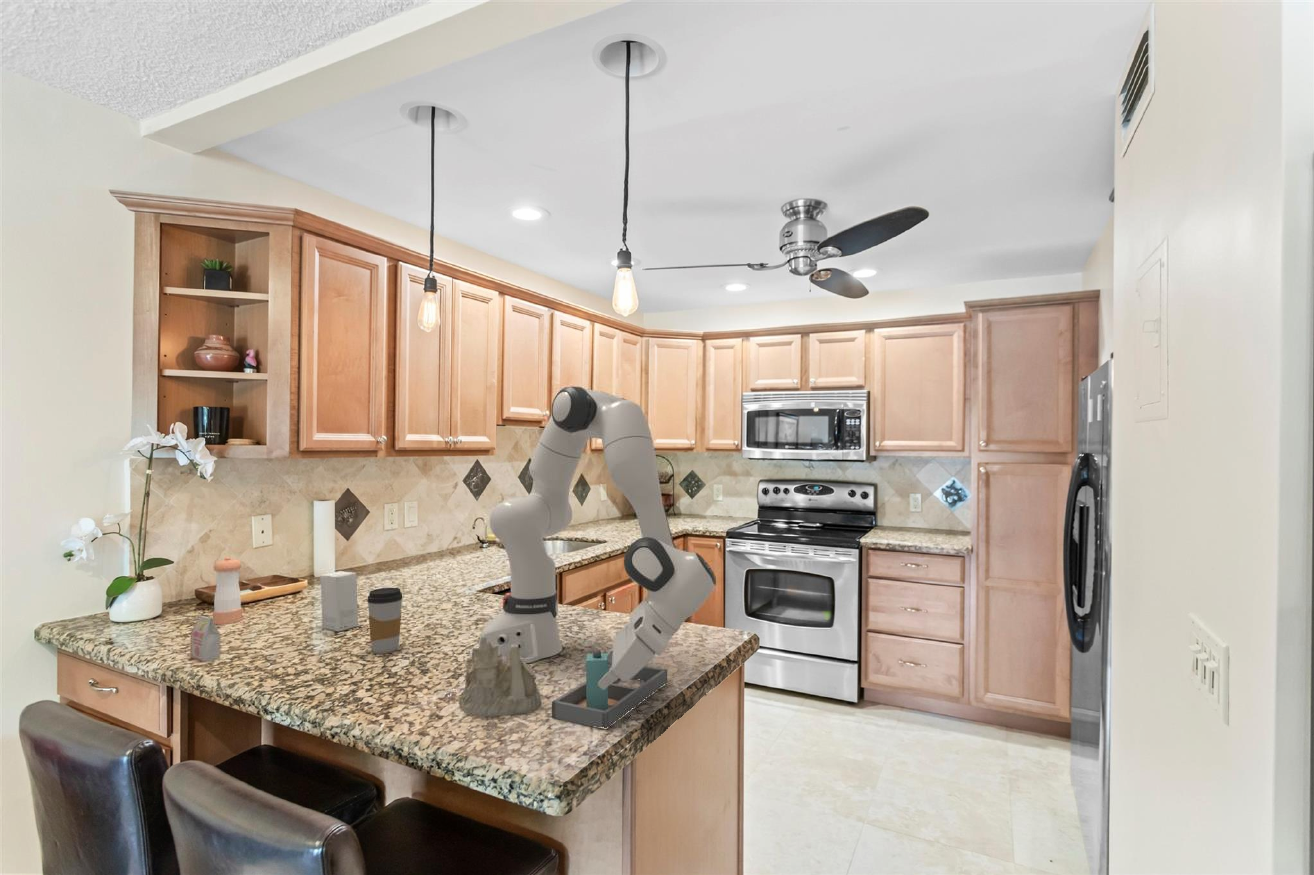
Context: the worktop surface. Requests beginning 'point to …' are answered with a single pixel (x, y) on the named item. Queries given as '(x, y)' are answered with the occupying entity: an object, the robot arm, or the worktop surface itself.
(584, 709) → the slot frame
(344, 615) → the skincare box
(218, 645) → the gable top carton
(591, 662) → the teal plug
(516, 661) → the castle ruin ornament
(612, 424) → the robot arm
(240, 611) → the salt shaker
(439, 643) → the worktop surface
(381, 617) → the coffee cup
